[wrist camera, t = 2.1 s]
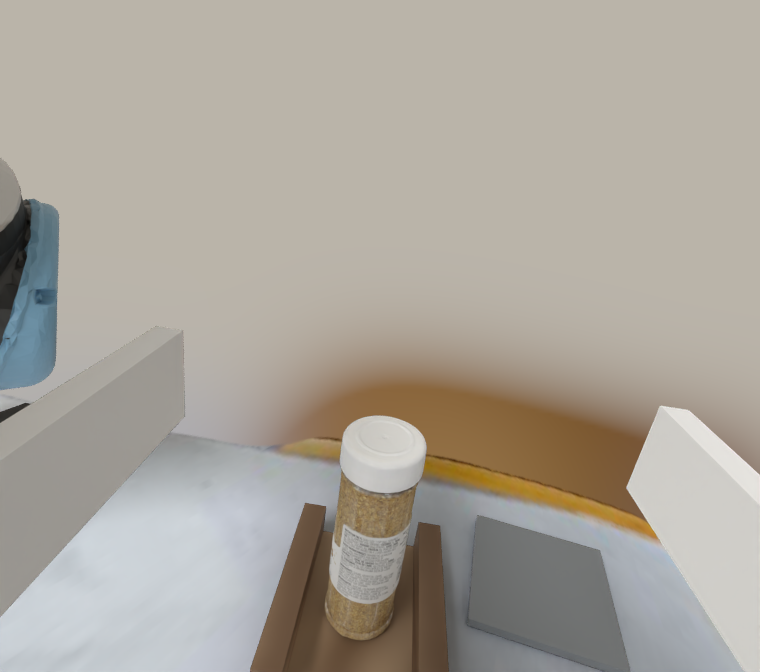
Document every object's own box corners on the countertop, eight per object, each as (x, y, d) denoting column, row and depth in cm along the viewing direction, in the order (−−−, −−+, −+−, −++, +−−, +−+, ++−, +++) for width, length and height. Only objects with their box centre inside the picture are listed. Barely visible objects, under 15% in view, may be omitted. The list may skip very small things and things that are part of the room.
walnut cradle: (248, 706, 24) (250, 668, 23) (302, 533, 35) (305, 502, 34) (439, 740, 24) (450, 704, 23) (432, 555, 35) (440, 525, 34)
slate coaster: (467, 625, 30) (469, 618, 30) (475, 520, 39) (477, 514, 39) (627, 679, 28) (630, 672, 28) (597, 555, 37) (599, 550, 37)
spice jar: (341, 568, 32) (362, 404, 27) (402, 593, 31) (436, 426, 26) (310, 626, 28) (328, 446, 23) (380, 658, 27) (415, 475, 22)
